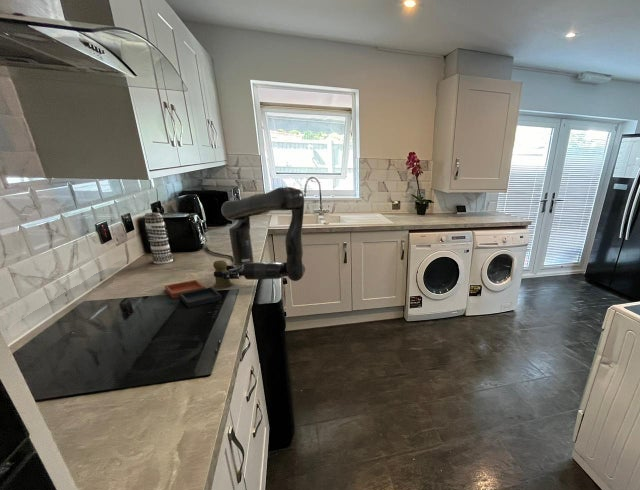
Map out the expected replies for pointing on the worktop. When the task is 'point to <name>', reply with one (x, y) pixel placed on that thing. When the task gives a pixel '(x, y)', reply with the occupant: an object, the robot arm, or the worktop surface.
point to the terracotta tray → (183, 288)
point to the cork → (221, 267)
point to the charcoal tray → (200, 297)
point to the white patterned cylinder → (158, 238)
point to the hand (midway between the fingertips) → (218, 271)
